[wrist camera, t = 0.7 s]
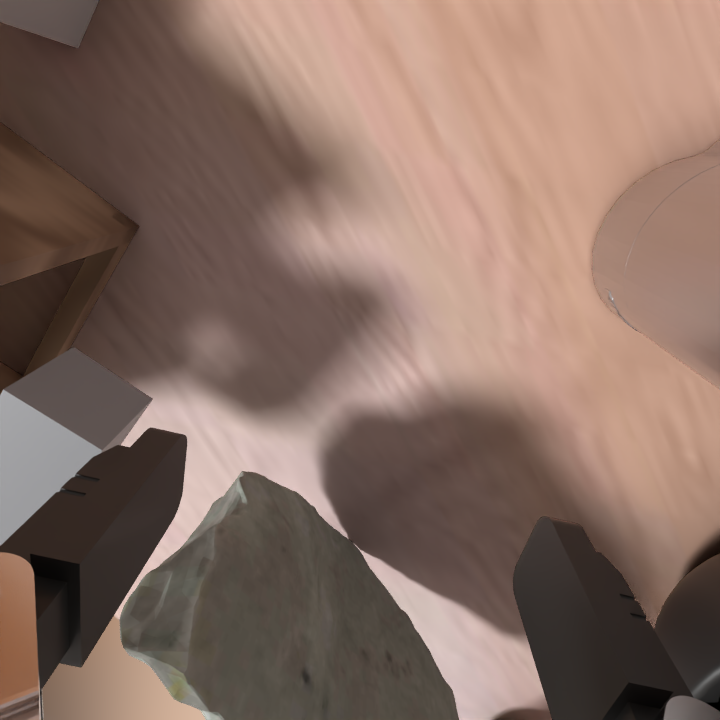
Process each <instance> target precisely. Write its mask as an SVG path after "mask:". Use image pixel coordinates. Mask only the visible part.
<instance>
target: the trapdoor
mask: <svg viewBox="0 0 720 720" xmlns="http://www.w3.org/2000/svg"><path fill="white" fill-rule="evenodd" d="M151 401H152V398H151V397H149V396H148V395H146V394H144V393H143V392H141V391H140V390H138V389H137V388H135V387H134V386H132V385H131V384H129V383H128V382H126V381H125V380H123V379H122V378H120V377H119V376H117V375H116V374H114V373H113V372H111V371H110V370H108V369H107V368H105V367H104V366H102V365H100V364H99V363H97V362H96V361H94V360H93V359H91V358H90V357H88V356H87V355H85V354H84V353H82V352H81V351H79V350H78V349H76V348H75V347H73V348H71V349H69V350H68V351H66V352H64V353H63V354H61V355H59V356H58V357H56V358H54V359H53V360H51V361H49V362H48V363H46V364H44V365H43V366H41V367H40V368H38V369H36V370H35V371H33V372H31V373H30V374H28V375H26V376H25V377H23V378H21V379H20V380H18V381H16V382H15V383H13V384H11V385H10V386H8V387H6V388H5V389H3V391H2V393H1V395H0V546H1V545H2V544H3V543H4V542H5V541H6V540H7V539H8V538H9V537H10V536H11V535H12V534H13V533H14V532H15V531H16V530H17V529H18V528H19V527H20V526H22V525H23V524H24V523H25V522H26V521H27V520H28V519H29V518H30V517H31V516H32V515H33V514H34V513H35V512H36V511H37V510H38V509H39V508H40V507H41V506H42V505H43V504H44V503H45V502H47V501H48V500H49V499H50V498H51V497H52V496H53V495H54V494H55V493H56V492H59V491H60V489H61V487H62V486H63V485H64V484H65V483H66V482H67V481H68V480H69V479H71V478H72V477H75V474H76V473H77V472H78V471H79V470H80V469H81V468H82V467H83V466H84V465H85V464H86V463H87V462H88V461H89V460H90V459H91V458H92V457H94V456H96V455H98V454H100V453H102V452H104V451H106V450H108V449H110V448H112V447H114V446H116V445H121V443H122V442H123V441H124V439H125V438H126V436H127V435H128V433H129V432H130V431H131V429H132V428H133V426H134V425H135V423H136V422H137V421H138V419H139V418H140V416H141V415H142V414H143V412H144V411H145V409H146V408H147V406H148V405H149V404H150V402H151Z"/></svg>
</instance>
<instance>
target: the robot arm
mask: <svg viewBox="0 0 720 720" xmlns="http://www.w3.org/2000/svg"><path fill="white" fill-rule="evenodd" d="M592 273H593V279H594V284H595V287H596V289H597V291H598V293H599V295H600V298H601V299H602V301H603V302H604V303H605V304H606V305H607V307H608V308H609V309H610V310H611V311H612V312H613V313H615V314H616V315H617V316H619V317H620V318H621V319H622V320H623V321H624V322H625V323H627V324H628V325H629V326H630V327H632V328H633V329H634V328H635V330H636V331H638V332H640V333H642V334H643V335H645V336H646V337H647V338H649V339H650V340H651V341H653V342H654V343H655V344H657V345H658V346H660V347H661V348H662V349H664V350H665V351H667V352H668V353H669V354H671V355H672V356H673V357H675V358H676V359H678V360H679V361H680V362H682V363H683V364H685V365H686V366H687V367H689V368H690V369H692V370H693V371H694V372H696V373H697V374H699V375H700V376H701V377H703V378H704V379H705V380H707V381H708V382H710V383H711V384H712V385H714V386H715V387H717V388H718V389H719V390H720V139H719V140H718V141H716V142H715V143H714V144H713V145H712V146H711V147H710V148H709V149H708V150H706V151H705V152H703V153H702V154H699V155H696V156H693V157H689V158H685V159H681V160H676V161H673V162H670V163H668V164H666V165H664V166H662V167H660V168H657V169H655V170H653V171H651V172H650V173H649V174H647V175H646V176H644V177H643V178H641V179H640V180H638V181H637V182H635V183H634V184H633V185H632V186H631V187H630V188H629V189H628V190H627V191H626V192H625V193H624V194H623V195H622V196H621V197H620V198H619V199H618V200H617V201H616V203H615V204H614V206H613V207H612V208H611V210H610V211H609V212H608V214H607V215H606V217H605V219H604V221H603V223H602V225H601V227H600V229H599V231H598V233H597V237H596V241H595V244H594V248H593V254H592ZM186 450H187V437H186V436H185V435H183V434H178V433H174V432H169V431H165V430H160V429H156V428H149V429H147V430H146V431H145V432H144V433H143V434H142V435H141V436H140V437H139V439H138V440H137V441H136V442H135V443H134V444H133V445H132V446H131V447H125V446H121V445H116V446H114V447H112V448H110V449H108V450H106V451H104V452H102V453H100V454H98V455H96V456H94V457H92V458H91V459H90V460H89V461H88V462H87V463H86V464H85V465H84V466H83V467H82V468H81V469H80V470H79V471H78V472H77V473H76V474H75V477H72V478H71V479H69V480H68V481H67V482H66V483H65V484H64V485H63V486H62V487H61V489H60V491H59V492H56V493H55V494H54V495H53V496H52V497H51V498H50V499H49V500H48V501H47V502H45V503H44V504H43V505H42V506H41V507H40V508H39V509H38V510H37V511H36V512H35V513H34V514H33V515H32V516H31V517H30V518H29V519H28V520H27V521H26V522H25V523H24V524H23V525H22V526H20V527H19V528H18V529H17V530H16V531H15V532H14V533H13V534H12V535H11V536H10V537H9V538H8V539H7V540H6V541H5V542H4V543H3V544H2V545H1V546H0V720H43V701H42V688H43V686H44V685H45V684H46V682H47V681H48V679H49V678H50V676H51V675H52V673H53V672H54V670H55V669H56V667H57V666H58V664H59V663H61V664H66V665H71V666H76V667H82V666H83V664H84V662H85V660H86V659H87V658H88V656H89V654H90V653H91V651H92V650H93V648H94V646H95V645H96V643H97V641H98V640H99V638H100V637H101V635H102V633H103V632H104V630H105V628H106V627H107V625H108V624H109V622H110V621H111V619H112V617H113V616H114V614H115V612H116V611H117V609H118V608H119V606H120V604H121V603H122V601H123V600H124V598H125V596H126V595H127V593H128V592H129V590H130V588H131V587H132V585H133V583H134V582H135V580H136V579H137V577H138V575H139V574H140V572H141V571H142V569H143V567H144V566H145V564H146V562H147V561H148V559H149V558H150V556H151V554H152V553H153V551H154V550H155V548H156V546H157V545H158V543H159V542H160V540H161V538H162V537H163V535H164V533H165V532H166V530H167V529H168V527H169V525H170V524H171V522H172V520H173V519H174V517H175V515H176V512H177V510H178V507H179V504H180V501H181V497H182V492H183V482H184V472H185V461H186ZM513 590H514V595H515V599H516V602H517V605H518V609H519V612H520V615H521V619H522V622H523V625H524V628H525V632H526V635H527V638H528V642H529V645H530V648H531V651H532V655H533V658H534V661H535V664H536V668H537V671H538V674H539V678H540V681H541V684H542V687H543V691H544V694H545V697H546V701H547V704H548V707H549V710H550V714H551V717H552V720H720V711H718V710H717V709H715V708H713V707H712V706H710V705H708V704H707V703H705V702H703V701H701V700H698V699H696V698H694V697H693V695H692V694H691V692H690V690H689V688H688V687H687V685H686V683H685V682H684V680H683V678H682V677H681V675H680V673H679V671H678V670H677V668H676V666H675V665H674V663H673V661H672V660H671V658H670V656H669V654H668V653H667V651H666V649H665V648H664V646H663V644H662V643H661V641H660V639H659V638H658V636H657V634H656V632H655V631H654V629H653V627H652V626H651V624H650V622H649V621H646V615H645V614H644V612H643V610H642V609H641V607H640V605H639V604H638V602H636V601H635V600H634V598H635V597H634V595H633V593H632V592H631V590H630V588H629V587H628V585H627V583H626V581H625V580H624V578H623V576H622V575H621V573H620V572H619V571H618V570H617V569H616V568H615V567H614V566H613V565H612V564H611V563H610V562H609V561H608V560H607V559H606V558H605V557H604V556H603V555H602V554H601V553H599V552H596V551H595V549H594V547H593V546H592V544H591V542H590V540H589V538H588V537H587V535H586V533H585V531H584V529H583V528H582V527H581V526H580V525H579V524H577V523H573V522H568V521H564V520H559V519H555V518H550V517H546V516H544V517H541V518H540V519H539V520H538V521H537V523H536V525H535V527H534V529H533V531H532V533H531V536H530V538H529V540H528V542H527V544H526V546H525V548H524V550H523V552H522V554H521V556H520V558H519V560H518V562H517V565H516V567H515V571H514V577H513Z"/></svg>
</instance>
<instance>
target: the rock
mask: <svg viewBox="0 0 720 720" xmlns="http://www.w3.org/2000/svg"><path fill="white" fill-rule="evenodd" d="M120 638H121V642H122V645H123V648H124V649H125V650H126V652H127V653H128V654H129V655H130V656H132V657H134V658H136V659H138V660H141V661H143V662H144V663H146V664H147V665H149V666H150V667H151V668H152V669H153V671H154V672H155V673H156V675H157V676H158V677H159V679H160V680H161V681H162V683H163V684H164V686H165V687H166V689H167V690H168V691H169V693H170V694H171V696H172V697H173V699H175V700H177V701H179V702H181V703H184V704H187V705H190V706H192V707H195V708H197V709H199V710H201V712H202V714H203V716H204V717H205V719H206V720H459V718H458V713H457V708H456V703H455V698H454V694H453V691H452V689H451V688H450V686H449V685H448V684H447V683H446V681H445V680H444V678H443V677H442V675H441V673H440V671H439V669H438V667H437V665H436V663H435V661H434V659H433V657H432V655H431V653H430V651H429V649H428V648H427V646H426V645H425V643H424V641H423V640H422V638H421V636H420V635H419V633H418V632H417V631H416V630H415V628H414V626H413V624H412V621H411V620H410V618H409V616H408V615H407V614H406V613H405V612H404V611H403V610H401V609H400V607H399V606H398V605H397V603H396V602H395V600H394V599H393V597H392V596H391V595H390V593H389V592H388V590H387V589H386V588H385V586H384V585H383V584H382V583H381V582H380V580H379V579H378V578H377V577H376V575H375V574H374V573H373V571H372V570H371V569H370V568H369V566H368V564H367V562H366V561H365V559H364V557H363V555H362V554H361V552H360V551H359V549H358V548H357V547H356V546H355V545H354V544H353V543H352V541H350V540H349V539H347V538H346V537H344V536H343V535H342V534H340V532H338V531H337V530H335V529H334V528H333V527H332V526H330V525H329V524H328V523H327V522H326V521H325V520H324V519H323V518H322V517H321V516H320V515H319V514H318V512H317V511H316V509H315V507H313V506H312V505H310V504H309V503H308V502H307V501H306V500H305V499H304V498H303V497H302V496H301V495H299V494H298V493H297V492H295V491H292V490H290V489H288V488H286V487H283V486H281V485H279V484H277V483H275V482H273V481H271V480H269V479H267V478H266V477H264V476H262V475H260V474H257V473H254V472H245V471H242V472H241V473H240V475H239V476H238V477H237V479H236V480H235V482H234V483H233V484H232V486H231V487H230V488H229V490H228V491H227V492H226V494H225V495H224V496H223V497H221V498H219V499H218V500H217V501H215V502H214V503H213V505H212V506H211V508H210V510H209V512H208V513H207V515H206V516H205V518H204V520H203V521H202V522H201V524H200V525H199V526H198V527H197V529H196V530H195V531H194V532H193V533H192V535H191V536H190V537H189V539H188V540H187V541H186V542H185V544H184V545H183V546H182V547H181V548H180V549H179V550H178V551H176V552H175V553H174V554H173V555H171V556H170V557H169V558H168V559H166V560H165V561H164V562H163V563H162V564H161V565H160V566H159V567H157V568H156V569H154V570H152V571H150V572H149V573H148V574H146V576H145V577H144V578H143V579H142V580H141V582H140V583H139V585H138V587H137V588H136V590H135V591H134V592H133V593H132V594H131V596H130V597H129V599H128V600H127V602H126V604H125V605H124V608H123V610H122V613H121V616H120Z"/></svg>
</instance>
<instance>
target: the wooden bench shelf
mask: <svg viewBox="0 0 720 720" xmlns="http://www.w3.org/2000/svg"><path fill="white" fill-rule="evenodd" d="M138 227H139V225H137V224H136V223H135V222H133V221H132V220H131V219H129V218H128V217H127V216H125V215H124V214H123V213H121V212H120V211H119V210H117V209H116V208H115V207H113V206H112V205H110V204H109V203H108V202H106V201H105V200H104V199H102V198H101V197H100V196H98V195H97V194H96V193H94V192H93V191H92V190H90V189H89V188H88V187H86V186H85V185H84V184H82V183H81V182H80V181H78V180H77V179H76V178H74V177H73V176H72V175H70V174H69V173H68V172H66V171H65V170H64V169H62V168H61V167H60V166H58V165H57V164H56V163H54V162H53V161H52V160H50V159H49V158H48V157H46V156H45V155H44V154H42V153H41V152H40V151H38V150H37V149H36V148H34V147H33V146H32V145H30V144H29V143H28V142H26V141H25V140H23V139H22V138H21V137H19V136H18V135H17V134H15V133H14V132H13V131H11V130H10V129H9V128H7V127H6V126H5V125H3V124H2V123H1V122H0V286H1V285H4V284H7V283H10V282H13V281H16V280H19V279H22V278H25V277H28V276H31V275H34V274H37V273H40V272H43V271H46V270H49V269H52V268H55V267H58V266H61V265H64V264H67V263H70V262H73V261H76V260H79V259H82V258H85V257H86V258H85V260H84V262H83V264H82V266H81V268H80V270H79V272H78V273H77V275H76V277H75V279H74V281H73V283H72V285H71V287H70V288H69V290H68V292H67V294H66V296H65V298H64V300H63V302H62V303H61V305H60V307H59V309H58V311H57V313H56V315H55V317H54V318H53V320H52V322H51V324H50V326H49V328H48V330H47V332H46V333H45V335H44V337H43V339H42V341H41V343H40V345H39V347H38V348H37V350H36V352H35V354H34V356H33V358H32V360H31V361H30V363H29V365H28V367H27V369H26V371H25V373H24V375H23V376H22V375H20V374H19V373H17V372H16V371H14V370H12V369H11V368H9V367H8V366H6V365H4V364H3V363H1V362H0V395H1V393H2V391H3V389H5V388H6V387H8V386H10V385H11V384H13V383H15V382H16V381H18V380H20V379H21V378H23V377H25V376H26V375H28V374H30V373H31V372H33V371H35V370H36V369H38V368H40V367H41V366H43V365H44V364H46V363H48V362H49V361H51V360H53V359H54V358H56V357H58V356H59V355H61V354H63V353H64V352H66V351H68V350H69V348H70V347H71V345H72V343H73V341H74V340H75V338H76V336H77V334H78V333H79V331H80V329H81V327H82V326H83V324H84V322H85V320H86V319H87V317H88V315H89V313H90V312H91V310H92V308H93V306H94V305H95V303H96V301H97V299H98V298H99V296H100V294H101V292H102V290H103V289H104V287H105V285H106V283H107V282H108V280H109V278H110V276H111V275H112V273H113V271H114V269H115V268H116V266H117V264H118V262H119V261H120V259H121V257H122V255H123V254H124V252H125V250H126V248H127V247H128V245H129V243H130V241H131V240H132V238H133V236H134V234H135V233H136V231H137V229H138Z"/></svg>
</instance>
